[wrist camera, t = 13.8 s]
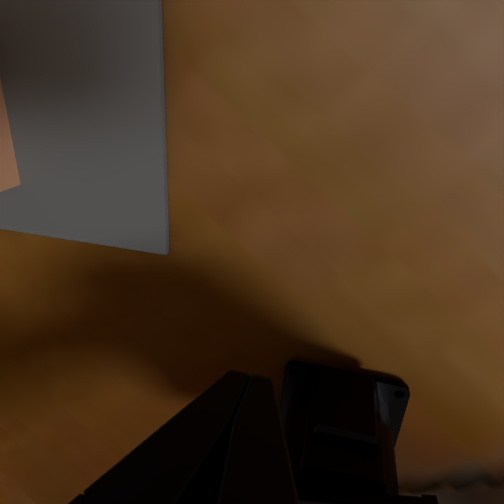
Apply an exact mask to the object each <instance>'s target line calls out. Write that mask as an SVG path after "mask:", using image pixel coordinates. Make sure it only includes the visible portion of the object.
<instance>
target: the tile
mask: <svg viewBox="0 0 504 504" xmlns="http://www.w3.org/2000/svg"><path fill="white" fill-rule="evenodd" d="M18 185H20V179H19V174H18V169H17V163H16V158H15V153H14V148H13V142H12V137H11V132H10V126H9V121H8V116H7V111H6V105H5V100H4V95H3V89H2V84H1V79H0V192H1V191H4V190H7V189H10V188H13V187H16V186H18Z"/></svg>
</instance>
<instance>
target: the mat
mask: <svg viewBox="0 0 504 504" xmlns="http://www.w3.org/2000/svg"><path fill="white" fill-rule="evenodd" d="M0 79H1V84H2V89H3V95H4V100H5V105H6V111H7V116H8V121H9V126H10V132H11V137H12V142H13V148H14V153H15V158H16V163H17V169H18V174H19V179H20V185H18V186H16V187H13V188H10V189H7V190H4V191H1V192H0V229H5V230H11V231H18V232H24V233H30V234H37V235H43V236H49V237H55V238H62V239H68V240H74V241H80V242H87V243H93V244H99V245H106V246H112V247H118V248H124V249H131V250H137V251H143V252H149V253H156V254H162V255H167V254H168V253H169V221H168V189H167V156H166V123H165V90H164V57H163V24H162V0H0Z"/></svg>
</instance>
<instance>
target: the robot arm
mask: <svg viewBox="0 0 504 504" xmlns="http://www.w3.org/2000/svg"><path fill="white" fill-rule="evenodd" d="M291 369H296V370H297V371H296V372H294V371H292V370H291ZM397 390H401V391H403V392H396V391H397ZM409 397H410V392H409V387H408V385H407V384H406V383H404V382H401V381H397V380H392V379H386V378H381V377H376V376H371V375H366V374H361V373H356V372H351V371H346V370H341V369H336V368H331V367H326V366H320V365H315V364H310V363H305V362H300V361H289V362H288V363H287V364H286V367H285V372H284V380H283V388H282V397H281V405H280V411H279V407H278V402H277V397H276V392H275V388H274V383H273V380H272V379H271V378H270V377H266V376H261V375H256V374H253V375H252V376H250V374H249V373H246V372H242V371H237V370H229V371H228V372H226V373H225V374H224V375H223V376H222V377H220V378H219V379H218V380H217V381H216V382H214V383H213V384H212V385H211V386H210V387H208V388H207V389H206V390H205V391H203V392H202V393H201V394H200V395H199V396H197V397H196V398H195V399H194V400H193V401H191V402H190V403H189V404H188V405H187V406H185V407H184V408H183V409H182V410H181V411H179V412H178V413H177V414H176V415H175V416H173V417H172V418H171V419H170V420H169V421H167V422H166V423H165V424H164V425H163V426H161V427H160V428H159V429H158V430H156V431H155V432H154V433H153V434H152V435H150V436H149V437H148V438H147V439H146V440H144V441H143V442H142V443H141V444H140V445H138V446H137V447H136V448H135V449H134V450H132V451H131V452H130V453H129V454H128V455H126V456H125V457H124V458H123V459H122V460H120V461H119V462H118V463H117V464H115V465H114V466H113V467H112V468H111V469H109V470H108V471H107V472H106V473H105V474H103V475H102V476H101V477H100V478H99V479H97V480H96V481H95V482H94V483H93V484H91V485H90V486H89V487H88V488H87V489H85V491H84V496H83V494H79V495H78V496H77V497H75V498H74V499H73V500H72V501H71V502H69V503H68V504H438V501H437V497H436V495H424V494H422V497H417V496H405V495H399V490H398V480H397V471H396V461H395V452H394V447H395V444H396V440H397V437H398V434H399V430H400V427H401V424H402V420H403V417H404V414H405V410H406V407H407V404H408V400H409Z"/></svg>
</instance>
